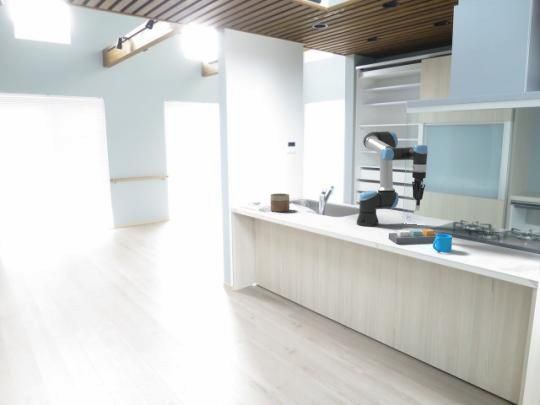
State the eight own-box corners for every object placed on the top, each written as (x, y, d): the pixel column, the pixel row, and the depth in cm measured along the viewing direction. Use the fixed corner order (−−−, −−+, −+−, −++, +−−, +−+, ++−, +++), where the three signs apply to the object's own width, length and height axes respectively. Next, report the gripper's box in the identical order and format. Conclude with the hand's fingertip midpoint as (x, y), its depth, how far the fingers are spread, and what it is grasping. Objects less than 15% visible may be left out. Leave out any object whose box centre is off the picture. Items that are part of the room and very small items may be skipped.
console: (388, 238, 241) (388, 233, 240) (432, 237, 243) (433, 231, 243) (396, 244, 229) (396, 238, 228) (442, 242, 232) (443, 236, 231)
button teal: (409, 236, 238) (409, 229, 237) (417, 236, 238) (417, 229, 238) (413, 238, 233) (413, 231, 233) (421, 238, 234) (421, 231, 233)
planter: (279, 213, 326) (279, 196, 324) (266, 210, 338) (266, 194, 335) (293, 210, 337) (293, 194, 334) (280, 208, 348) (280, 192, 346)
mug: (442, 247, 221) (442, 233, 220) (454, 251, 214) (455, 236, 213) (426, 250, 216) (427, 235, 214) (439, 254, 209) (440, 239, 207)
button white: (396, 237, 237) (397, 230, 237) (404, 236, 238) (404, 230, 237) (400, 239, 233) (400, 232, 232) (408, 238, 233) (408, 232, 232)
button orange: (422, 235, 239) (422, 229, 238) (430, 235, 239) (430, 229, 238) (426, 237, 234) (426, 231, 233) (434, 237, 234) (434, 231, 234)
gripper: (408, 170, 240) (406, 208, 245) (417, 172, 227) (415, 212, 232) (420, 169, 241) (418, 207, 245) (430, 172, 228) (427, 212, 233)
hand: (416, 210), depth 239 cm, fingers closed
